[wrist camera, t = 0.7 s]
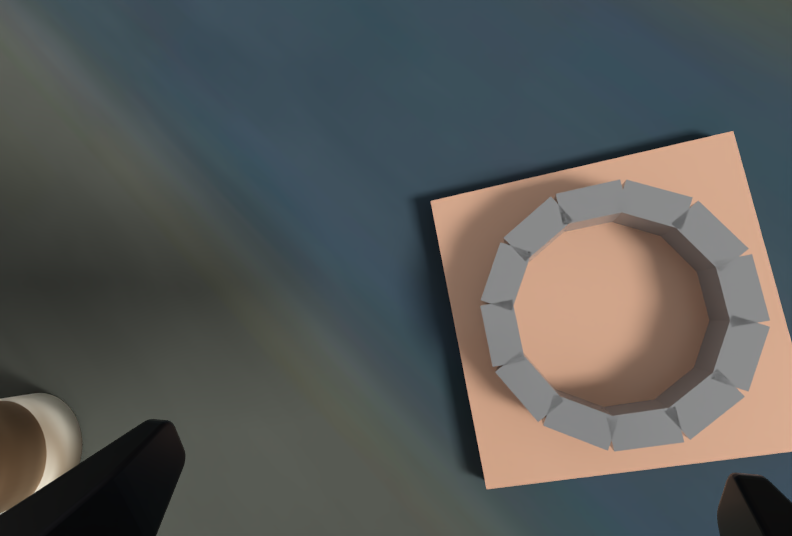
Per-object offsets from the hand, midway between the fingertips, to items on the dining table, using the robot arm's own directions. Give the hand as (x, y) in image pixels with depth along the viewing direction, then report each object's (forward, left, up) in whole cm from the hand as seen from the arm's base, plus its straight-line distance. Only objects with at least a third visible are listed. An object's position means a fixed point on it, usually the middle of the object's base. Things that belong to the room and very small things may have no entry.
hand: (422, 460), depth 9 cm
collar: (+2, -5, -15) cm, 16 cm away
